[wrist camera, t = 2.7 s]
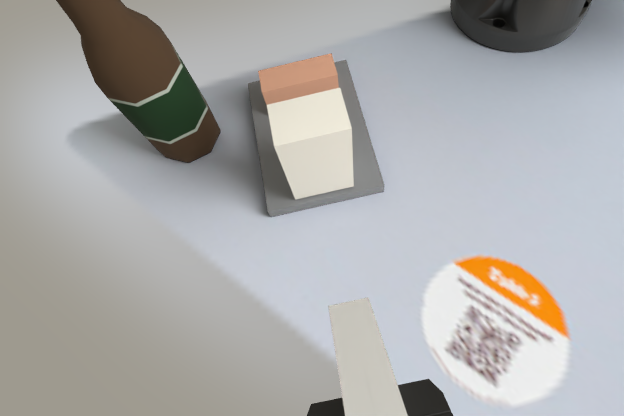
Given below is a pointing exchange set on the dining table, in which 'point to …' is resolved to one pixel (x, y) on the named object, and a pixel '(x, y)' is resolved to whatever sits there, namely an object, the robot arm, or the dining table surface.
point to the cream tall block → (313, 142)
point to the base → (273, 173)
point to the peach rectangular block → (298, 79)
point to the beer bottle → (144, 77)
